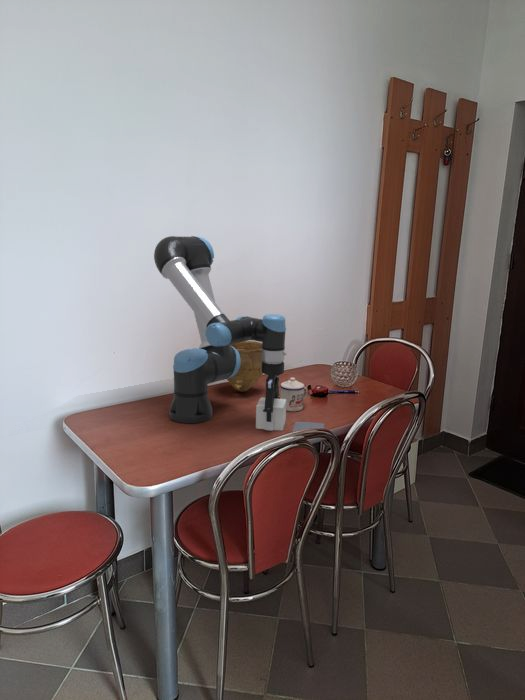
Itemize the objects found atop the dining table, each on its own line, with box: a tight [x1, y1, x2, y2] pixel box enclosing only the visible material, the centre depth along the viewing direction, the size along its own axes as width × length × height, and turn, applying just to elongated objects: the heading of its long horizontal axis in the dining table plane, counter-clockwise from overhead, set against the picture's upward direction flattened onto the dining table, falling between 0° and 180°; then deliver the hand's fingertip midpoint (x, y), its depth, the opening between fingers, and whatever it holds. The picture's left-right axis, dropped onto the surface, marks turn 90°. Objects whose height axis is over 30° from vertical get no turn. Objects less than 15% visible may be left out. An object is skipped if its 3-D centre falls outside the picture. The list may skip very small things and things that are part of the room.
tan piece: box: [226, 340, 264, 393], centre depth 206 cm, size 21×20×20 cm
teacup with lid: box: [279, 377, 308, 412], centre depth 190 cm, size 12×9×12 cm
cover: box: [255, 397, 287, 431], centre depth 172 cm, size 9×9×8 cm
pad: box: [292, 420, 325, 433], centre depth 170 cm, size 10×10×1 cm
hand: (271, 424), depth 173 cm, fingers open, 10 cm apart
